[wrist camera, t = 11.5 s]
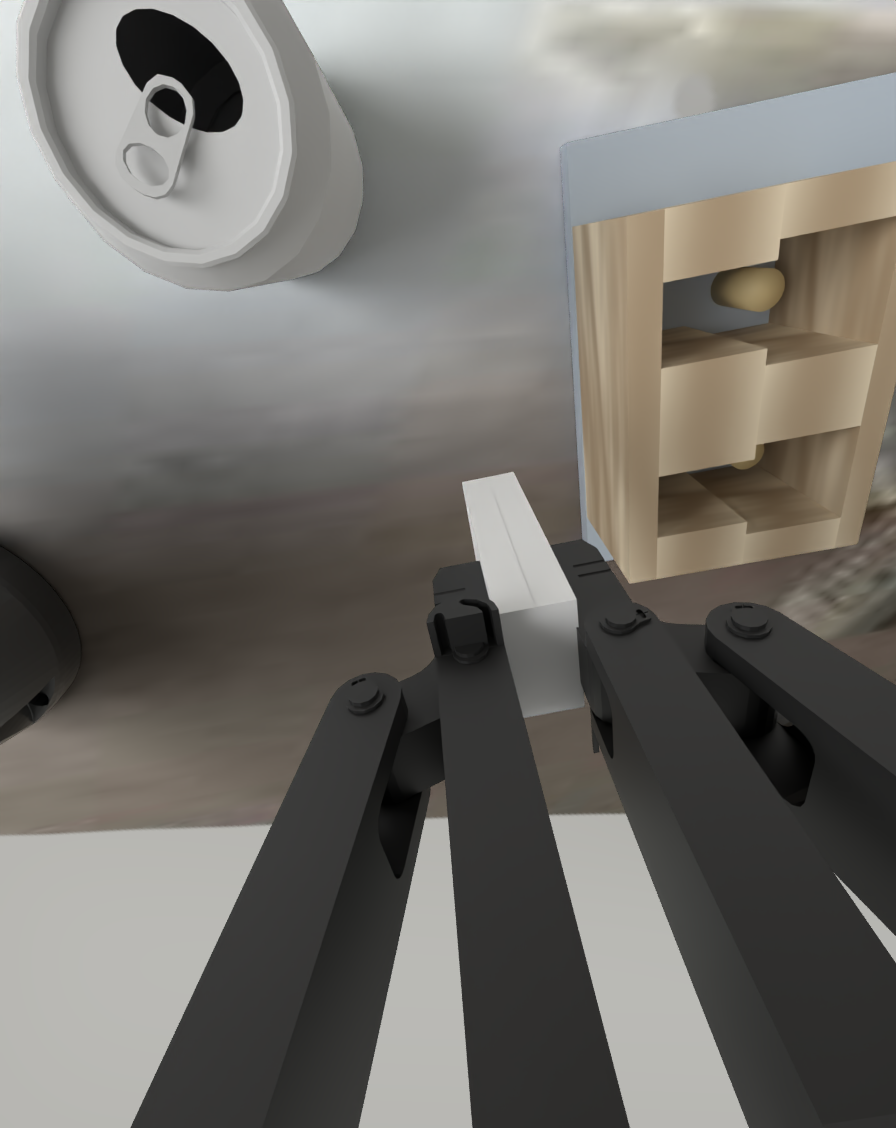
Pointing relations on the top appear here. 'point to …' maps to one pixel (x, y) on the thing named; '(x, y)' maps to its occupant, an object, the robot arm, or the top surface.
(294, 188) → the can
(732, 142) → the panel
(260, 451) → the top surface
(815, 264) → the wooden cubby shelf
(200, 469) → the top surface
